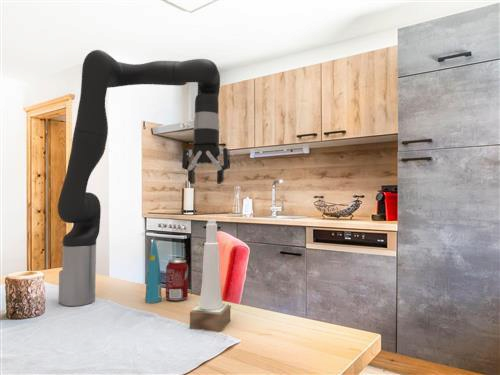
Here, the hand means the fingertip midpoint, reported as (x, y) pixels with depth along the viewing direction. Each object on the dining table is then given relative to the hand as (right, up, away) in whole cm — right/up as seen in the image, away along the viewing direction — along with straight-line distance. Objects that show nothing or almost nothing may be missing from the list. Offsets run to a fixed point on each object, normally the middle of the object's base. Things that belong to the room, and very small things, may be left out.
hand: (205, 183), depth 109 cm
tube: (-17, -36, +4) cm, 40 cm away
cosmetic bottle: (+3, -32, -16) cm, 35 cm away
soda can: (-10, -36, +6) cm, 38 cm away
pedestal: (+3, -36, -16) cm, 39 cm away
